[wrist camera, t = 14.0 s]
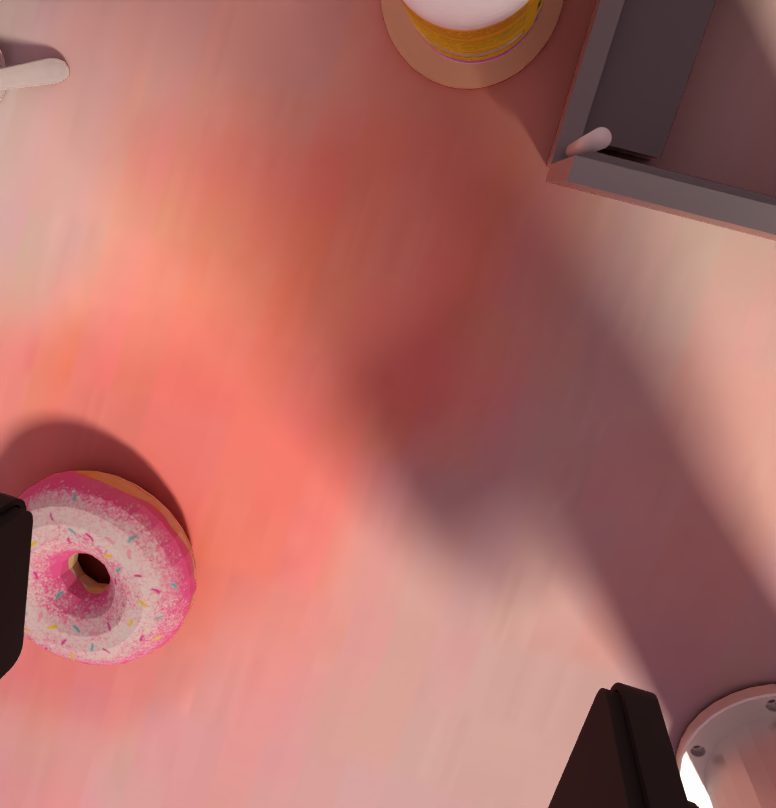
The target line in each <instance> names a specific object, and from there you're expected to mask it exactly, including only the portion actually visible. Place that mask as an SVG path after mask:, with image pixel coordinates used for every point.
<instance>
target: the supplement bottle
mask: <svg viewBox="0 0 776 808" xmlns="http://www.w3.org/2000/svg"><path fill="white" fill-rule="evenodd" d="M401 1H402V3H403V5H404V7H405V9H406V11H407V13H408V15H409V17H410V19H411V21H412V23H413V25H414V27H415V29H416V30H417V32H418V33H419V35H420V36H421V38H422V39H423V40H424V41H425V43H426V44H427V45H428V46H429V47H430V48H431V49H433V50H434V51H435V52H436V53H438V54H439V55H441V56H442V57H444V58H446V59H449V60H451V61H454V62H458V63H463V64H481V63H486V62H490V61H493V60H496V59H498V58H500V57H502V56H504V55H506V54H508V53H509V52H511V51H512V50H513V49H514V48H516V47H517V46H518V45H519V44H520V43H521V42H522V41H523V40H524V39H525V38H526V37H527V35H528V34H529V33H530V31H531V30H532V28H533V27H534V25H535V23H536V22H537V20H538V17H539V15H540V13H541V10H542V7H543V4H544V1H545V0H401Z"/></svg>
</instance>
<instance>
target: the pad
mask: <svg viewBox="0 0 776 808" xmlns="http://www.w3.org/2000/svg"><path fill="white" fill-rule="evenodd" d="M563 1H564V0H545V1H544V4H543V7H542V10H541V13H540V15H539V17H538V20H537V22H536V23H535V25H534V27H533V28H532V30H531V31H530V33H529V34H528V35H527V37H526V38H525V39H524V40H523V41H522V42H521V43H520V44H519V45H518V46H517V47H516V48H514V49H513V50H512V51H511V52H509V53H508V54H506V55H504V56H502V57H500V58H498V59H496V60H493V61H490V62H486V63H481V64H463V63H458V62H454V61H451V60H449V59H446V58H444V57H442V56H441V55H439V54H438V53H436V52H435V51H434V50H433V49H431V48H430V47H429V46H428V45H427V44H426V43H425V41H424V40H423V39H422V38H421V36H420V35H419V33H418V32H417V30H416V29H415V27H414V25H413V23H412V21H411V19H410V17H409V15H408V13H407V11H406V9H405V7H404V5H403V3H402V1H401V0H381V8H382V13H383V19H384V22H385V25H386V28H387V31H388V33H389V35H390V38H391V40H392V42H393V44H394V45H395V47H396V48H397V50H398V52H399V53H400V54H401V56H402V57H403V58H404V59H405V60H406V62H407V63H408V64H409V65H410V66H411V67H412V68H414V69H415V70H416V71H417V72H418V73H420V74H421V75H423V76H424V77H426V78H427V79H429V80H431V81H433V82H435V83H438V84H441V85H444V86H447V87H452V88H458V89H475V88H483V87H487V86H491V85H494V84H497V83H499V82H502V81H504V80H506V79H508V78H510V77H511V76H513V75H515V74H516V73H518V72H519V71H520V70H522V69H523V68H524V67H526V66H527V65H528V64H529V63H530V62H531V61H532V60H533V59H534V58H535V57H536V56H537V55H538V53H539V52H540V51H541V50H542V48H543V47H544V46H545V44H546V42H547V41H548V39H549V38H550V36H551V34H552V32H553V30H554V28H555V26H556V24H557V21H558V18H559V15H560V13H561V10H562V6H563Z"/></svg>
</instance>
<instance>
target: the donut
mask: <svg viewBox="0 0 776 808" xmlns="http://www.w3.org/2000/svg"><path fill="white" fill-rule="evenodd" d="M18 498H19V499H22V500H23V501H24V502H25V504H26V510H27V511H30V512H31V513H32V515H33V529H32V541H31V553H30V565H29V577H28V589H27V601H26V613H25V625H24V635H25V636H26V637H28V638H29V639H30V640H31V641H33V642H34V643H36V644H38V645H39V646H41V647H42V648H44V649H45V650H47V651H49V652H51V653H54V654H56V655H58V656H61V657H63V658H65V659H69V660H73V661H76V662H80V663H84V664H92V665H105V666H107V665H115V664H123V663H127V662H129V661H132V660H135V659H138V658H141V657H143V656H146V655H148V654H151V653H153V652H154V651H156V650H157V649H159V648H160V647H162V646H163V645H165V644H166V643H167V642H168V641H169V640H170V639H171V638H172V637H173V635H174V634H175V633H176V632H177V631H178V630H179V628H180V627H181V625H182V624H183V622H184V621H185V619H186V617H187V615H188V613H189V611H190V609H191V607H192V604H193V600H194V596H195V591H196V566H195V559H194V555H193V551H192V548H191V544H190V542H189V540H188V538H187V536H186V534H185V532H184V530H183V528H182V526H181V525H180V524H179V522H178V521H177V520H176V519H175V517H174V516H173V515H172V513H171V512H170V511H169V510H168V509H167V508H166V507H165V506H164V505H163V504H162V503H161V502H160V501H158V500H157V499H156V498H155V497H154V496H153V495H151V494H150V493H148V492H147V491H145V490H144V489H142V488H141V487H139V486H138V485H136V484H134V483H132V482H130V481H128V480H125V479H123V478H121V477H119V476H116V475H112V474H108V473H104V472H100V471H74V470H69V471H65V472H60V473H56V474H52V475H50V476H48V477H46V478H45V479H43V480H41V481H40V482H38V483H36V484H35V485H33V486H31V487H30V488H28V489H26V490H25V491H24V492H23V493H22V494H21V495H20V496H19V497H18ZM78 553H88V554H90V555H92V556H94V557H95V558H97V559H98V560H100V561H101V562H102V563H103V564H104V565H105V567H106V569H107V571H108V574H109V576H110V584H105V583H97V582H96V581H94V580H93V579H92V578H90V577H89V576H88V575H87V574H85V573H84V571H83V570H82V568H81V566H80V564H79V562H78V560H77V558H78Z"/></svg>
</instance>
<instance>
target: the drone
mask: <svg viewBox="0 0 776 808" xmlns="http://www.w3.org/2000/svg"><path fill="white" fill-rule="evenodd" d="M68 76H69V66H68V65H67V64H66V62H65V61H63V60H60V59H57V58H42V59H38V60H33V61H29V62H25V63H20V64H16V65H11V66H7V67H6V64H5V60H4V57H3V54H2V52H1V50H0V101H1V100H2V98H3V96H4V94H5V93H6V90H8V89H16V88H25V87H33V86H42V85H50V84H56V83H59V82H62V81H64V80H65V79H66V78H67V77H68Z"/></svg>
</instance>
